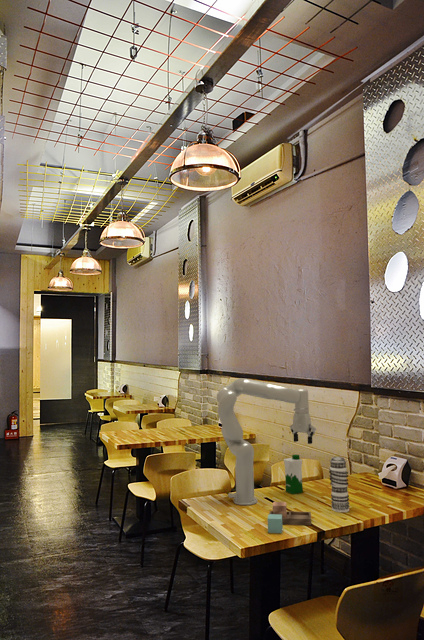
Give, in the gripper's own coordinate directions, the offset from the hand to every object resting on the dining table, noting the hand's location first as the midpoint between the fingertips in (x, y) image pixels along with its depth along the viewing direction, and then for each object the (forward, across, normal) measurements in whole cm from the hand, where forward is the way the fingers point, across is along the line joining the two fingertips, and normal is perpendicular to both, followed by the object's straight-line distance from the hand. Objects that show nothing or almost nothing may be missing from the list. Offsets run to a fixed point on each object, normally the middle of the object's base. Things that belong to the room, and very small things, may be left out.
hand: (302, 442), depth 259 cm
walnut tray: (+28, +21, -38) cm, 51 cm away
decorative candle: (+28, +28, -8) cm, 41 cm away
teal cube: (+29, +24, -51) cm, 64 cm away
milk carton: (+28, -8, +1) cm, 30 cm away
